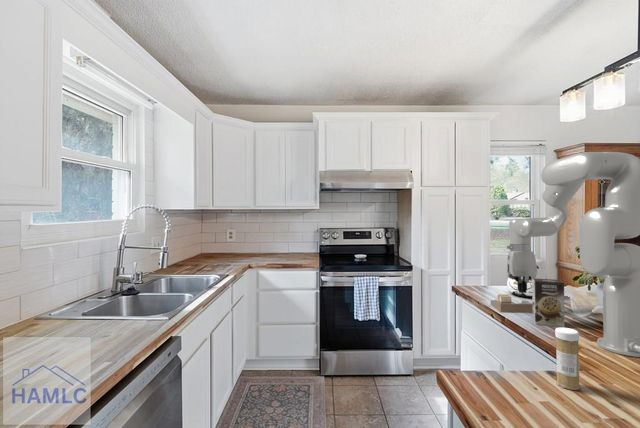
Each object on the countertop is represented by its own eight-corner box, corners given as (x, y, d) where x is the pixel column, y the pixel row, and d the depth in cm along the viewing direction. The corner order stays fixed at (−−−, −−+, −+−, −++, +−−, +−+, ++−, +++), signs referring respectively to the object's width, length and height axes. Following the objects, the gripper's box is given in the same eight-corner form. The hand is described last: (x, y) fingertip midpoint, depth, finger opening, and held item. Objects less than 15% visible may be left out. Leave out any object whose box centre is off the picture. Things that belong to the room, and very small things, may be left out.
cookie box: (535, 324, 122) (534, 280, 121) (532, 319, 127) (531, 277, 127) (565, 327, 118) (564, 282, 118) (560, 322, 124) (560, 279, 124)
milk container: (510, 298, 158) (510, 260, 158) (504, 290, 174) (503, 256, 174) (553, 301, 152) (553, 262, 151) (543, 292, 168) (542, 257, 168)
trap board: (539, 312, 135) (539, 304, 135) (500, 312, 137) (500, 303, 137) (526, 305, 146) (526, 297, 146) (490, 304, 148) (490, 297, 148)
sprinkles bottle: (582, 386, 79) (581, 330, 79) (576, 393, 76) (574, 334, 76) (560, 379, 83) (559, 325, 83) (553, 384, 80) (552, 329, 80)
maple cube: (511, 306, 138) (511, 296, 138) (501, 306, 139) (501, 296, 139) (507, 303, 142) (507, 294, 142) (497, 303, 143) (497, 294, 143)
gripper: (505, 249, 136) (507, 294, 136) (544, 248, 134) (546, 294, 134) (498, 247, 144) (499, 290, 143) (535, 247, 142) (537, 290, 141)
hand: (522, 292), depth 138 cm, fingers closed
